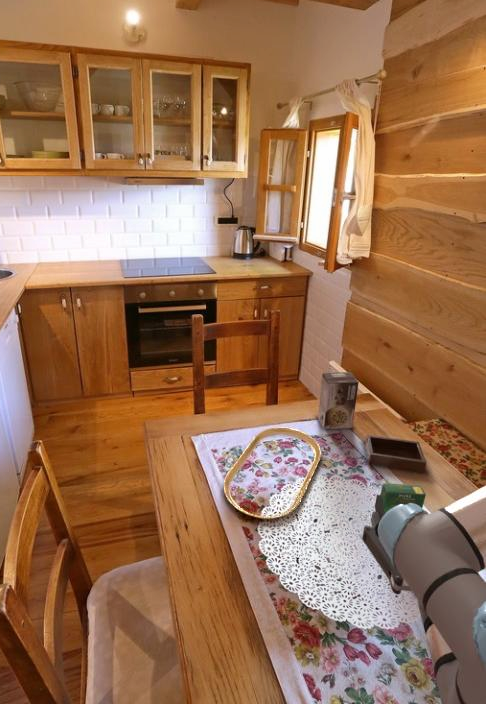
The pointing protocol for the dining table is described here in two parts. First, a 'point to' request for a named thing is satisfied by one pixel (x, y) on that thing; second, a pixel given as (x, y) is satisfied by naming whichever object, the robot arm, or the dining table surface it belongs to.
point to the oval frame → (250, 449)
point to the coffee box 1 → (337, 400)
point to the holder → (395, 453)
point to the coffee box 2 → (401, 495)
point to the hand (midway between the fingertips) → (418, 507)
